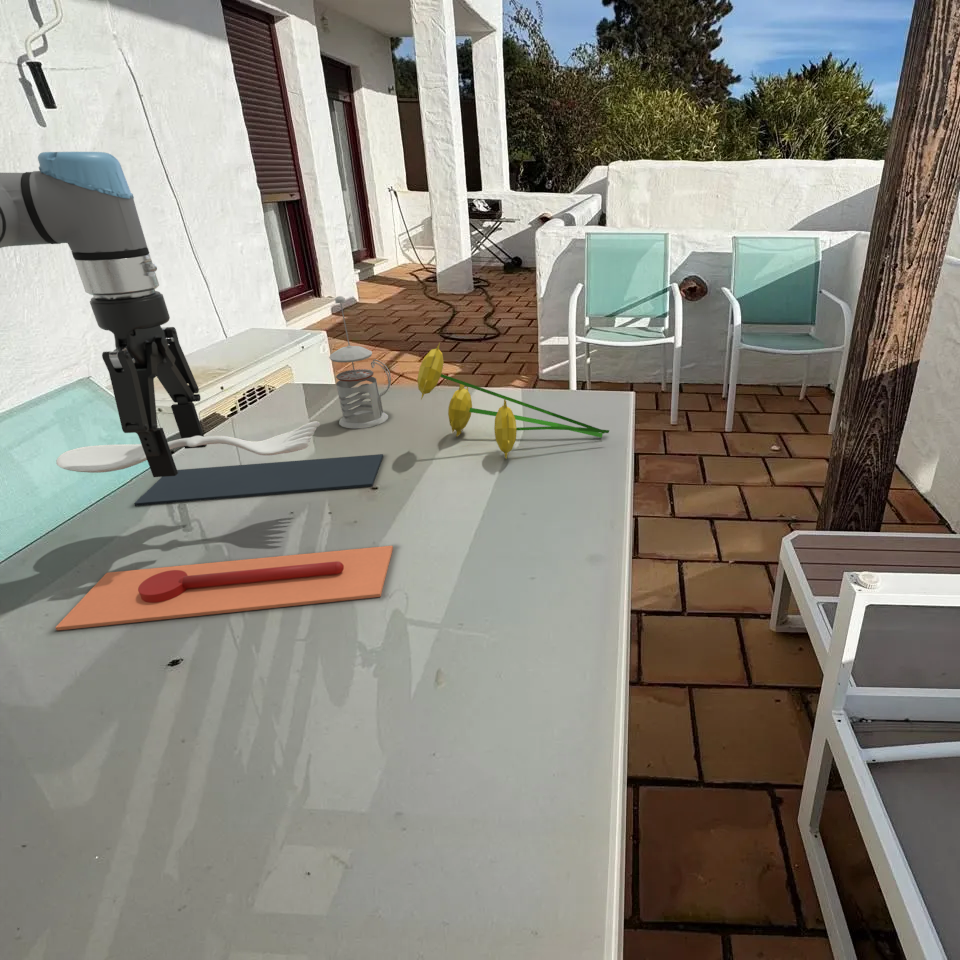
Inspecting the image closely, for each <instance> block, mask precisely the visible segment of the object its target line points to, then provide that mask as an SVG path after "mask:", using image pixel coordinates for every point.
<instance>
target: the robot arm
mask: <svg viewBox="0 0 960 960" xmlns="http://www.w3.org/2000/svg"><path fill="white" fill-rule="evenodd" d="M37 162H38V164H39V166H38V170H33V171H25V172H0V249H3V248H6V247H7V248H8V247H21V246H37V245H39V246H40V245H60V244H67V245H68V247H69V249H70V251H71V255H72V258H73V260H74V263H75V265H76V268H77V271H78V274H79V277H80V280H81V283H82V286H83V289H84V292H85V293H87V295H88V294H89V295H91V296H92V297H91V298H90V300H89V305H90V308H91V310H92V313H93V316H94V318H95V320H96V324H97V326H98V328H99V329H101V330H102V331H103V330H104V331H109V332H111V333H112V334H113V337H114V343H115V344H114V346H115V349H114V350H110V351H103V352H102V353H101V358H102V361H103V362H104V364H105V367H106V369H107V371H108V374H109V378H110V379H109V380H110V383H111V387H112V391H113V395H114V400H115V404H116V408H117V413H118V417H119V422H120V425H121V431H122V432H123V433H124V434H134V433H135V434H136V435H137V436H138V439H139V441H140V444H142V447H143V450H144V453H145V455H146V458H147V460H146V461H147V464H148V467H149V470H150V472H151V475H152V478H161V477H166V476H176V475H177V474H178V472H177V470H178V469H177V466H176V463H175V460H174V456H173V455H172V452H171V450H170V448H169V445H168V442H169V441H168V439H167V437H166V433H165V431H164V428H163V427H158V418H157V417H158V415H157V405H156V395H155V394H156V393H155V391H156V390H155V380H154V379H155V378H157V380H158V381H159V382H160V384H161V385H162V387H163V388H164V390H165V392H166V393H167V394H168V395H169V397H170V399H171V400H172V402H173V404H171V405H170V408H171V411H172V414H173V417H174V420H175V423H176V426H177V430H178V431H179V435H180V439H183V438H190V437H194V436H203V437H205V434H204V431H203V429H202V428H203V427H202V425H201V422H200V419H199V415H198V413H197V409H196V406H195V403H196V402H200V401H201V399H202V398H201V394H200V393H199V391H200V390H199V389H200V388H199V386H198V383H197V381H196V379H195V377H194V375H193V372H192V369H191V367H190V365H189V362H188V360H187V358H186V355H185V353H184V351H183V348H182V346H181V344H180V340H179V336H178V332H177V329H176V327H175V326H162V325H165V324H167V323H168V322H170V319H171V318H170V313H169V309H168V308H167V307H168V306H167V304H166V300H165V297H164V294H163V293H161V292H160V291H158V290H156V289H157V288H158V287H159V286H160V283H159V279H158V275H157V272H156V271H157V270H158V266H157V265H156V264H155V263H153V260H152V257H151V253H150V251H149V248H148V244H147V241H146V237H145V233H144V231H143V227H142V224H141V221H140V217H139V213H138V210H137V207H136V206H137V205H136V202H135V196H134V194H133V193H132V191H131V189H130V186H129V184H128V181H127V178H126V176H125V173H124V170H123V168H122V165H121V163H120V160H118V158H117V157H115V156H114V155H113V154H111V153H109V152H104V151H43V152H40V153H39V154H38V155H37ZM194 402H195V403H194ZM207 446H208V444H207V445H199V446H195V447H188V446H183V447H184V449H203V448H206V447H207Z"/></svg>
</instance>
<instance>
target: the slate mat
mask: <svg viewBox="0 0 960 960" xmlns="http://www.w3.org/2000/svg"><path fill="white" fill-rule="evenodd" d="M383 459H384V453H379V454H366V455H365V454H364V455H355V456H353V455H352V456H342V457H341V456H340V457H327V458H316V459H301V460H289V461H287V460H286V461H275V462H263V463H250V464H249V463H248V464H237V465H235V464H234V465H224V466H212V467H211V466H209V467H199V468H198V467H197V468H196V467H195V468H186V469H184V468H183V469H177V472H178V474H177V475H176V476H166V477H159V479H158V480H157V481H156V482H155V483H154V484H153V485H152V486H151V487H149V489H147V491H146V492H144V494H142V495H141V496H140V497H139V498H138V499H137V500H136V501H135V502H134V504H133V505H134V506H135V507H139V506H153V505H165V504H175V503H189V502H201V501H212V500H225V499H237V498H238V499H239V498H249V497H259V496H261V497H262V496H273V495H284V494H285V495H286V494H295V493H296V494H298V493H309V492H321V491H332V490H345V489H346V490H347V489H358V488H368V487H373V486H374V484H375V480H376V477H377V475H378V472H379V470H380V467H381V464H382V462H383Z"/></svg>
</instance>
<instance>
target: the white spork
mask: <svg viewBox="0 0 960 960" xmlns="http://www.w3.org/2000/svg"><path fill="white" fill-rule="evenodd" d="M320 425H321V423H320V422H319V421H318V420H317V421H316V420H313V421H311V422H307V423H305V424H303V425H301V426H300V427H297V428H295V429H293V430H291V431H287V432H284V433H281V434H278V435H275V436H272V437H269V438H266V439H264V440H259V441H258V440H257V441H254V440H245V439H241V438H237V437H233V436H227V435H207V436H205V435H204V437H203V436H194V437H190V438H183V439H181V438H179V439H174V440H170V441H167V442H168V445H169V448H170V451H171V450H174V449H177V448H181V447H184V446H188V447H195V446H199V445H207V446H208V445H228V446H233V447H237V448H240V449H242V450H245V451H248V452H251V453H253V454H256V455H260V456H276V455H281V454H289V453H293V452H299V451H302V450H305V449H307V448H308V447H309V443H310V441H311V439H312V436H313V435H315V432H316V431H317V430H318V429H317V428H318V427H320ZM55 461H56V462H55V464H56V466H58V467H59V468H61V469H63V470H66V471H71V472H76V473H92V474H98V473H101V474H102V473H110V472H115V471H121V470H124V469H125V470H126V469H128V468H131V467H134V466H137V465H140V464H141V463H143V462H146V461H147V458H146V455H145V453H144V450H143V447H142V444H141V443H134V444H133V443H132V444H131V443H129V444H128V443H127V444H126V443H125V444H124V443H123V444H119V443H118V444H100V445H99V444H98V445H87V446H80V447H77V448H73V449H69V450H67V451H64V452H63V453H61V454H59V456H58V457H56V460H55Z"/></svg>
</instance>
